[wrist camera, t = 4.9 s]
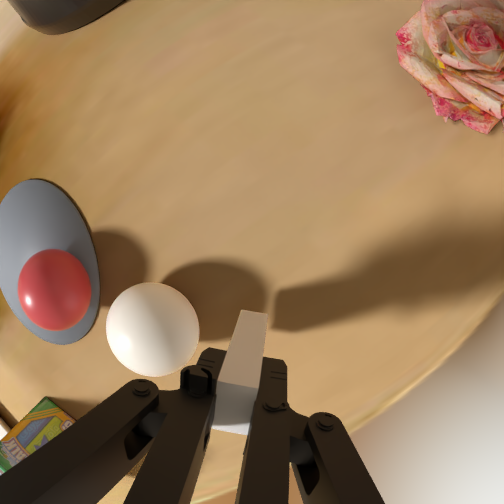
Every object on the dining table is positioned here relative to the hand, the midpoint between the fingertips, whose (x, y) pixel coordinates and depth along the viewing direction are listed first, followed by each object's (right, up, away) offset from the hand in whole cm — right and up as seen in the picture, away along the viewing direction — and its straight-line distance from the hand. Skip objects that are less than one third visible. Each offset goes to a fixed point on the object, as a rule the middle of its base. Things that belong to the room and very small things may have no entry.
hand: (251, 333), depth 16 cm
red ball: (-13, +2, 0) cm, 13 cm away
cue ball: (-6, 0, 0) cm, 6 cm away
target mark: (-18, +3, +3) cm, 18 cm away
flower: (+13, +16, -3) cm, 21 cm away
